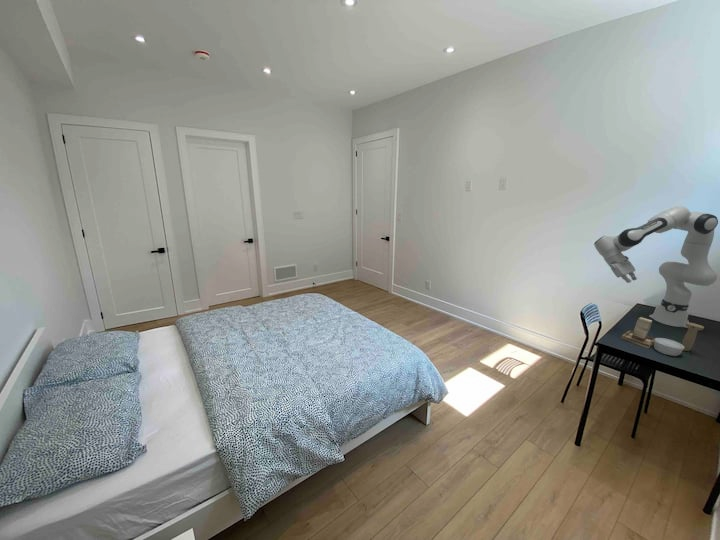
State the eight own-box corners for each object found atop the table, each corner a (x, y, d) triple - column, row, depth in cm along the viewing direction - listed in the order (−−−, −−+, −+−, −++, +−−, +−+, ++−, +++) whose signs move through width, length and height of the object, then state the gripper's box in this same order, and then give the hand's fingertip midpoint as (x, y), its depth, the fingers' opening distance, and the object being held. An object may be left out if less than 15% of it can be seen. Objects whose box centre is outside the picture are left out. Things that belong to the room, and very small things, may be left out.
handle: (692, 354, 155) (702, 328, 151) (675, 348, 160) (685, 323, 156) (694, 351, 158) (705, 326, 153) (678, 345, 163) (687, 321, 158)
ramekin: (647, 348, 160) (650, 339, 158) (657, 344, 164) (661, 335, 162) (674, 359, 150) (678, 350, 148) (685, 355, 154) (688, 346, 153)
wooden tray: (628, 333, 175) (629, 330, 175) (655, 342, 166) (656, 339, 165) (620, 338, 169) (621, 335, 168) (648, 348, 159) (649, 345, 158)
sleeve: (634, 335, 170) (640, 317, 167) (645, 339, 166) (652, 320, 163) (631, 338, 168) (637, 319, 164) (642, 342, 164) (649, 322, 160)
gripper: (615, 260, 167) (632, 281, 162) (628, 256, 178) (644, 276, 173) (603, 265, 172) (619, 286, 167) (617, 261, 183) (632, 281, 178)
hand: (632, 281), depth 170 cm, fingers open, 8 cm apart
